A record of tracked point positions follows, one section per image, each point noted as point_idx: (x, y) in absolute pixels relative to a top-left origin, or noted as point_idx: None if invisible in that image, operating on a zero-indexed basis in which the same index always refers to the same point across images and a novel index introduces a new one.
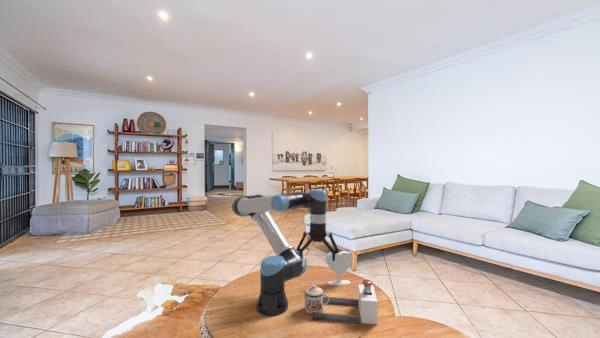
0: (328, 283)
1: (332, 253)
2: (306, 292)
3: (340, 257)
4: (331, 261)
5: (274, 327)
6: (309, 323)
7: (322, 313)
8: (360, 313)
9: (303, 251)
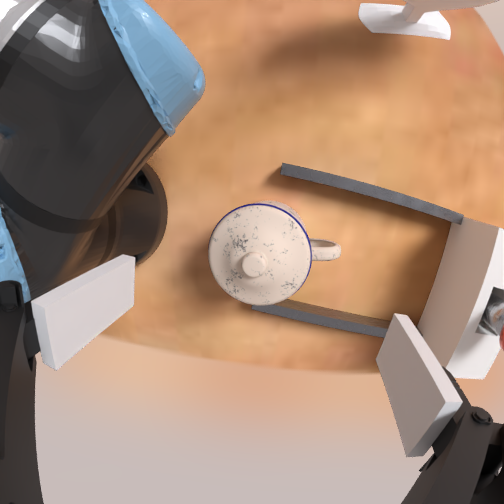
0: (360, 17)
1: (427, 463)
2: (215, 277)
3: None
4: (395, 400)
5: (141, 326)
6: (243, 323)
7: (292, 313)
8: (429, 324)
9: (38, 313)
